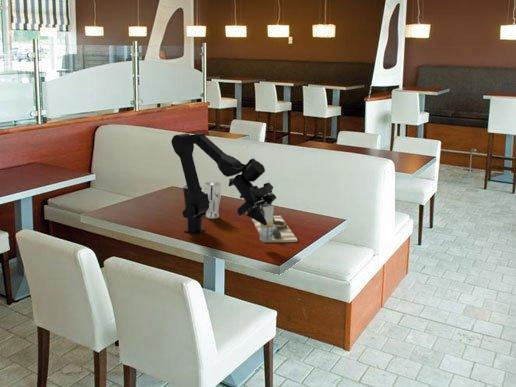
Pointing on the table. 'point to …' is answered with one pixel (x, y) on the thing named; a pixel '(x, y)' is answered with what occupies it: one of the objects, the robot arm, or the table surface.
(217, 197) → the beer glass
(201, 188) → the coffee mug
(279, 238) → the shaft board
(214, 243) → the table surface
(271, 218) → the metal cup
